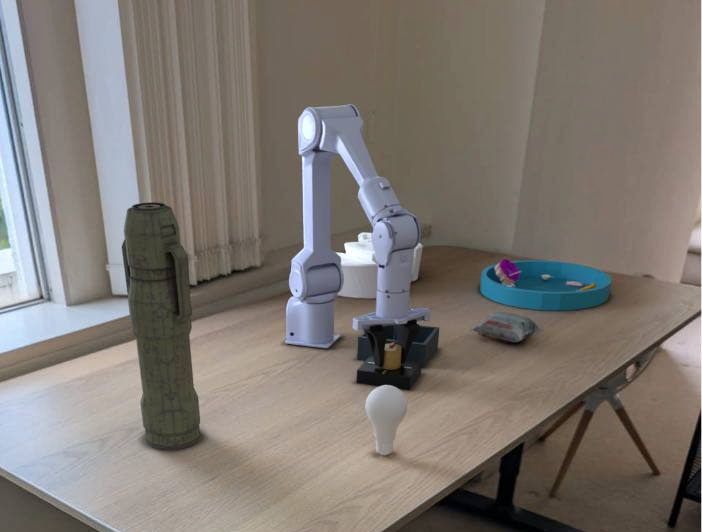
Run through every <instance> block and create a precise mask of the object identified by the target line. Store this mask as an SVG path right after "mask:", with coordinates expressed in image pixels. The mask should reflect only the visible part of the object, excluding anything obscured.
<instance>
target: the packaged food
mask: <svg viewBox="0 0 702 532" xmlns="http://www.w3.org/2000/svg"><path fill="white" fill-rule="evenodd" d="M541 330H542V329H541V328H540V326H539V325H538V324H537V323H536V322H535V321H534V320H533V319H531V318H530V317H526V316H523V315H519V314H515V313H510V312H503V311H499V312H493V313H491V314H490V315H488V316H486V318H485V319H483V320H482V321H480V322H479V324H477V325H475V326H473V327H470V328H469V331H471V332H472V331H473V332H476V333H477V334H478V335H480V336H481V337H484V338H488V339H493V340H496V341H501V342H506V343H519V342H521V341H523V340H524V339H526V338H529V337H531V336H533V335H535V334H536V333H538V332H539V331H540V332H541Z"/></svg>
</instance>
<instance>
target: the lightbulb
mask: <svg viewBox="0 0 702 532" xmlns="http://www.w3.org/2000/svg"><path fill="white" fill-rule="evenodd" d="M407 411H408V400H407V397H406V395H405V393H404V392H403V391H402V389H398V388H396V387H394V386H391V385H383V386H376V387H375V388H374V389H372V391H371V392H369V394H368V395H367V398H366V400H365V412H366V415H367V417H368V420H369V421H370V423H371V426H372V428H373V436H374V440H375V451H376V453H377V454H380V455H381V456H387V455H389V454H391V453H392V452H393V450H394V449H393V448H394V441H395V440H396V435H397V431H398V428H399V426H400V424H401V423H402V421H403V419H405V416H406V414H407Z"/></svg>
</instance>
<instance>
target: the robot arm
mask: <svg viewBox="0 0 702 532" xmlns="http://www.w3.org/2000/svg"><path fill="white" fill-rule="evenodd" d="M363 133H364V120H363V118H362V116H361V113H360V111H359V109H358V107H357V106H356V105H354V104H353V103H348V104H345V105H331V106H317V107H313V106H308V107H306V108H305V109H304V110H302V113H301V114H300V116H299V117H298V119H297V136H298V137H297V138H298V139H297V140H298V142H297V143H298V144H297V145H298V155H300V156H301V163H302V165H301V169H302V173H301V174H302V216H303V217H302V218H303V219H302V220H303V248H302V249H301V250H300V251H299V252H298V253H297V254H296V255H295V256H294V257H293V258H292V259H291V269H290V274H289V277H288V286H289V290H290V292H291V294H292V295H293V296H290V298H289V299H288V301H287V304H286V308H285V309H286V310H285V316H286V317H285V320H286V321H285V324H286V325H285V328H286V329H285V331H286V333H285V335H286V340H285V341H284V343H285V344H287V345H295V346H302V347H310V348H311V347H312V348H319V349H330V348H331V347H332V345H333V344H335V343H336V342H337V341H338V340H340V338H341V334H337V333H335V299H338V297H339V296H338V293H339V292H340V291H341V289H342V287H343V283H344V275H343V271H342V267H341V257H340V256H339V255H338V254H336V253H335V252H336V251H334V250H333V249H332V248H331V247H332V246H331V245H332V243H331V241H332V240H331V239H332V238H331V237H332V236H331V233H332V232H331V229H332V228H331V223H332V221H331V220H332V219H331V209H332V208H331V204H332V203H331V162H332V161H333V159H334V158H335V157H336V156H337V155H338V154H339V155H340V157H341V159H342V160H343V162H344V163H345V165H346V167H347V168H348V170H349V171H350V173H351V175H352V177H353V178H354V179H355V181H356V183H357V185H358V186H359V190H358V193H357V199H358V201H359V203H360V205H361V207H362V209H363V211H364V213H365V215H366V217H367V219H368V221H369V222H370V225H371V227H372V229H373V230H372V232H370V233H371V238H372V243H373V246H374V249H375V259H376V262H377V263H378V273H377V298H375V299H376V302H375V311H373V312H370V313H368V314H364V315H360V316H356V317H352V329H353V330H354V331H356V332H363V331H364V332H365V334H366V336H367V338H368V340H369V343H370V346H371V349H372V353H373V357H374V364H375V365H376V366H378V367H383V364H384V350H385V344H386V340H387V336H388V334H387V333H386V332H384V329H382V326H389V325H395V326H396V334H397V345H400V346H401V347H402V353H401V363H402V364H404V363H405V362H406V358H407V355H408V352H409V349H410V347H411V345H412V343H413V341H414V339H415V337H416V336H417V334H418V333H419V331H420V325H421V324H418V322H421V321H422V322H429V321H431V309H429V308H427V307H425V306H424V307H413V308H412V307H411V308H410V294H411V283H410V278H411V262H412V249H414V248H416V247H417V245H418V244H419V243H420V240H421V236H422V233H421V231H422V230H421V226H420V223H419V220H418V217H417V215H415V214H414V213H411V212H409V211H408V209H406V208H403V206H402V204H401V203H400V201H399V199H398V197H397V195H396V193H395V191H394V189H393V188H392V185H391V183H390V181H389V180H388V179H387V178H386V177H383V176H379V174H378V172H377V170H376V167H375V164H374V162H373V160H372V158H371V155H370V153H369V150H368V148H367V145H366V143H365V140H364V138H363V135H364V134H363Z"/></svg>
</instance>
